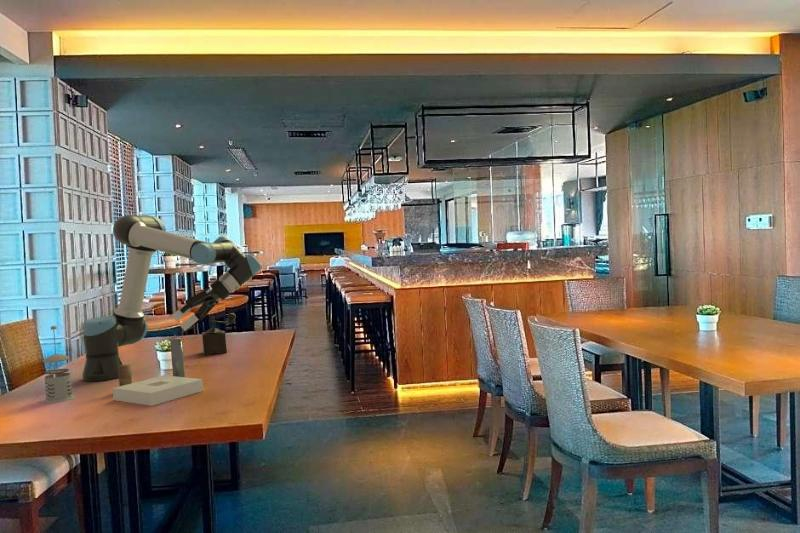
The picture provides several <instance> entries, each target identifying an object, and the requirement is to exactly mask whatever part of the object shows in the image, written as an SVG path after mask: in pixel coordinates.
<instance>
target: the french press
mask: <svg viewBox="0 0 800 533" xmlns="http://www.w3.org/2000/svg"><path fill="white" fill-rule="evenodd" d="M50 330H53V341H54V342H53V343H54V345H56V336H55V330H58V327H57V326H56V325H51V327H50ZM70 358H71V357H70V356H68V355H65V354H63V353H62V354H60V353H59V354H58V353H57V346H54V354H51V355H48V356H47V357H45V358H43V360H42V362H43V363H48V364H49V366H48V369H49V370H47V371H45V373H44V374H46V375H45V376H44V385H45V386H44V387H45V388H44V390H45V399H44V400H43V401H42V402H43V403H45V404H52V403H53V404H54V403H62V402H68V401H71V400H74V399H75V398H76V396H75V395H74V394H73V391H72V388H73V387H72V378H71V373H70V372H69V371H70V369H69V368H58V362H59V363H60V362H65V361H69V360H70ZM52 363H54V365H52ZM51 367H55V368H54V369H51Z"/></svg>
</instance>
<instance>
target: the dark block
mask: <svg viewBox="0 0 800 533" xmlns="http://www.w3.org/2000/svg"><path fill="white" fill-rule="evenodd" d="M236 317H237V315H236V314H235V313H233V312H230V313H228V314H227V321H219V320H215V317H214V316H211V318H210V319H211V321H210V322H211V328H210V329H208V330H206V331H205V332H204V331H203V332H201V345H202V355H203V356H211V355H212V354H213V355H218V354H226V353H228V350H227V338H226V331H225V330H221V329H219V328H217V327H215V324H225V325H232V324H234V321H235V319H236Z"/></svg>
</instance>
